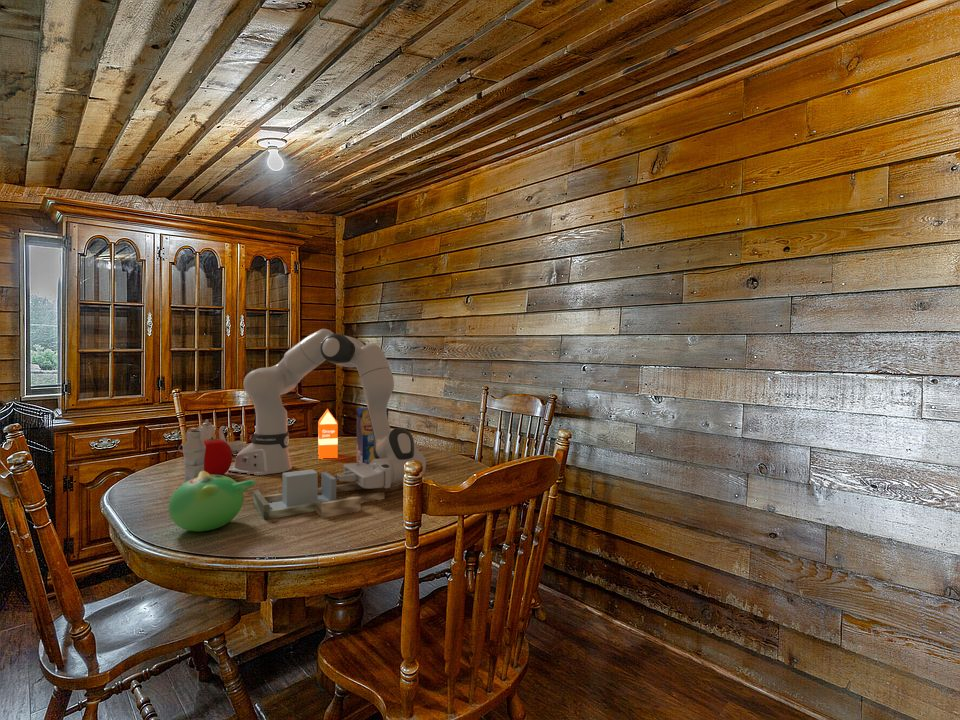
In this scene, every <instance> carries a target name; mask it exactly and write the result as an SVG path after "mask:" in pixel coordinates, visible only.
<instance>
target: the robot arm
mask: <svg viewBox="0 0 960 720" xmlns="http://www.w3.org/2000/svg"><path fill="white" fill-rule="evenodd" d="M325 361H327V362H329V363H331V364H334V365H337V366H341V367H344V368H345V367H347V368H352V369H357V372H358V375H359V379H360V383H361V385H362V389H363V393H364V397H365V401H366V407H367V409H368V414H369V419H370V423H371V427H372V432H373V436H374V446H373V454H374V457H375V459H373V460H372V462H371V464H366V463H358V462H349V463H345V464H343V465H342V473H337V474H336V480H337V481H339V482H340V483H341V482H350V483H357V484H358V485H360V486H361V487H363V489H368V490H369V489H381V488H384V489H390V488H391V486H392V485H393V484H395V483H400V484H401V483H404V482H403V477H404V464H405V463H406V462H407V461H411V460H417V461H420V462H421V463H422V464H423V475H425V472H426V469H427V460H426V458H425V456H424V455H423V454H422V453H421V452H420V451H419V450H418V448H417V446H416V444H415V440H414V437H413V435H412V433H411V432H410V430H408V429H406V428H404V427H396V428H393V429H392V430H391V426H390V423H389V417H388V418H387V408H388V405H389V401H390V398H391V396H392V393H393V392H394V388H395V383H394V381H395V380H394V376H393V372H392V370H391V366H390V363H389V362H388V359H387V358H386V355H385V353H384V352H383V350H382V348H381V346H379V345H377V344H373V343H369V344H366V343H365V342H364V341H363V340H359V339H357V338H355V337H352V336H348V335H345V334H344V335H343V334H341V333H334V332H333V331H332V330H330V329H327V328H321V329H319V330H317V331H315V332H313V333H310V334H309V335H307V336H306V337H304V338H302V339H301V340H300V341H299V342H298V343H296V344H295V345H293V346H292V347H291V348H289V349H288V350H287V351H286V352H285V353H284V354H283V357H282V358H281V360H280V361H279V362H278V363H277V364H275V365H273V366H268V367H259V368H256V369H253V370H251V371H250V372H248V373H247V374H246V375H245V377H244V378H243V384H242V385H243V389H244V392H245V393H247V395H249V396H250V399H251V400H252V404H253V407H254V411H255V432H254V433H253V434H251V435H249V440H251V443H249V444H248V445H247V446H245V448H244V449H243V450H242V451H240V452H239V453H238V454H237V456H235V460H234V464H233V465H231V466H230V468H229V470H228V471H232V472H239V473H238V474H241V473H247V474H246V475H250V474H254V475H253V476H259V475H260V476H266V475H271V474H279V473H286V472H289V471H290V470H292V469H293V466H292V463H291V458H290V454H289V453H290V452H289V443H290V435H289V434H290V433H289V431H288V411H287V409H286V408H285V406H284V405H283V403H282V398H281V395H285V394H287V393H289V392H291V391H293V390H294V389H295V388H296V387H297V386H298V383H300V382H301V380H303V378H304V377H306V376H307V375H308V374H309V373H310V372H313V370H315V369H316V368H317V367H319V366H320V365H321V364H322V363H324V362H325ZM228 471H227V472H228ZM232 472H231V473H232Z"/></svg>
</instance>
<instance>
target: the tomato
mask: <svg viewBox="0 0 960 720" xmlns="http://www.w3.org/2000/svg"><path fill="white" fill-rule="evenodd" d="M203 442H204V444H205V446H206V450H205V457H204V471H206V472H207V473H209V474H210V475H223V476H225V474H226V473H228V470H229V468H230V467H231V466H232V462H233V456H232V451H231V448H230V446H229V445H228V444H227V442H228V441H226V442H225V441H224V440H221V439H220V438H215V439H213V437H211V439H208V440H205V441H204V440H203Z"/></svg>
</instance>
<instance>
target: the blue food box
mask: <svg viewBox="0 0 960 720" xmlns="http://www.w3.org/2000/svg"><path fill="white" fill-rule="evenodd" d="M387 418H388V419H389V408H388V407H387ZM373 446H374V436H373V432H372V427H371V423H370V419H369V414H368V409H367V406H366V407H363V406H362V407H356V463H358V462H359V463H366V464H371V462H372V460H373V459H375V457H374V454H373Z"/></svg>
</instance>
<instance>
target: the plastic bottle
mask: <svg viewBox="0 0 960 720" xmlns="http://www.w3.org/2000/svg"><path fill="white" fill-rule="evenodd" d="M187 431H188V430H187ZM200 437H201V431H200V430H198V429H193V430H190V431H188V433H187V438H188V440H186V441H185V442H184V443H185V444H184V446H183V447H182V453H183V454H182V455H183V459H184V480H183V483H182V484H184V483H185V482H187V481H189V480H191V479H193V478H196V477H198V474H199V473H200V472H201V471H204V457H205V450H206V446H205V444H204V442H203V441H202V440H201V439H200Z"/></svg>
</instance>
